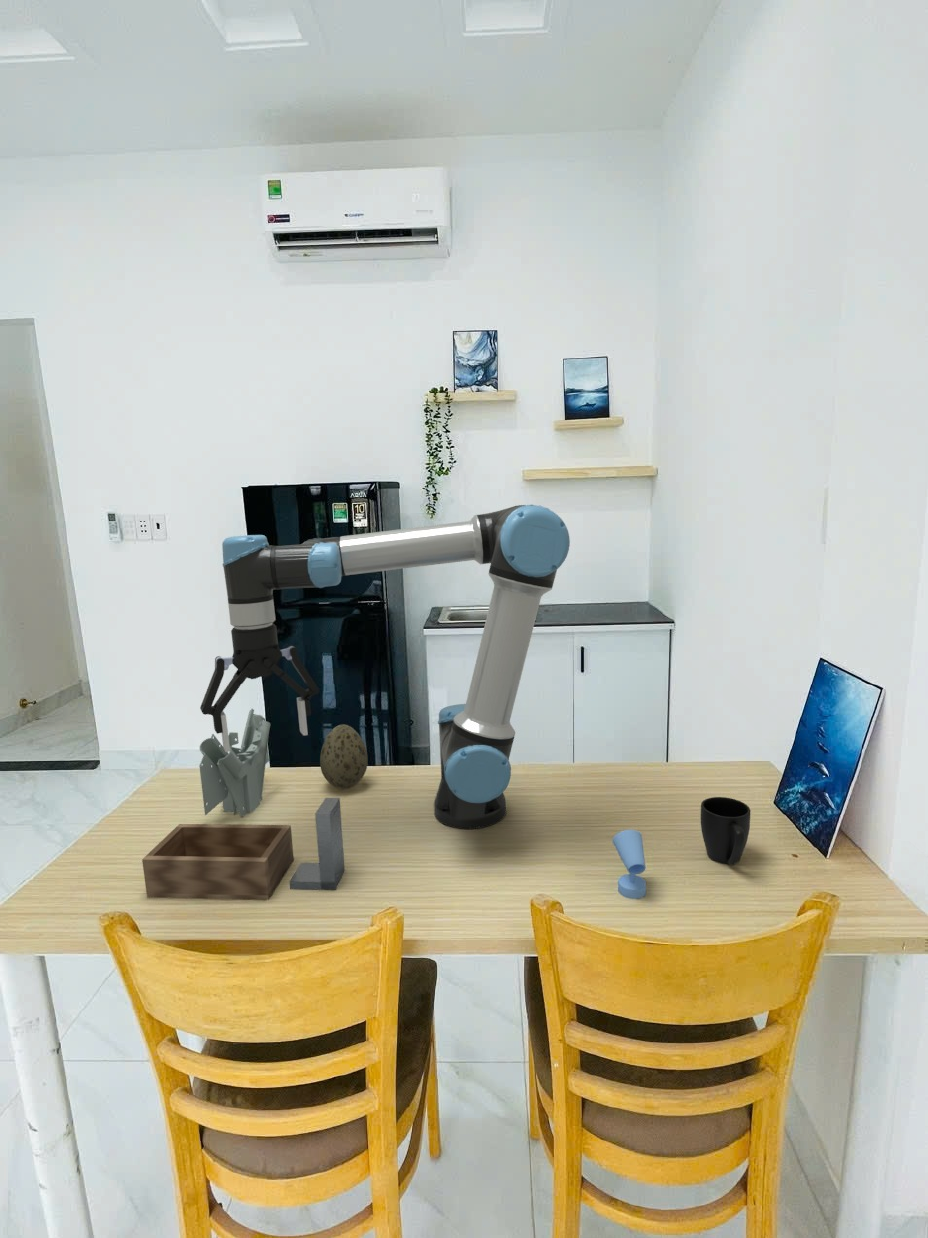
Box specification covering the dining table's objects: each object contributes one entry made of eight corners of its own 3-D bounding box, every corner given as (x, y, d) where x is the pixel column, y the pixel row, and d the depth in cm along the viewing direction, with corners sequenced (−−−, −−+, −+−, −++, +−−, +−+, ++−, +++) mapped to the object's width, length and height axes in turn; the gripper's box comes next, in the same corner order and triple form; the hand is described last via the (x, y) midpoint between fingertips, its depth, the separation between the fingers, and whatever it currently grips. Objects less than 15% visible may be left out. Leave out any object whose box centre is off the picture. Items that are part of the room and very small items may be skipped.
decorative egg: (370, 793, 150) (366, 730, 148) (322, 799, 148) (317, 735, 145) (367, 774, 161) (363, 715, 158) (322, 780, 158) (317, 719, 156)
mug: (711, 880, 112) (713, 828, 111) (694, 843, 124) (695, 796, 122) (762, 881, 111) (765, 829, 110) (740, 844, 123) (742, 796, 121)
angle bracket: (344, 870, 119) (339, 797, 117) (335, 890, 113) (329, 813, 111) (301, 869, 120) (295, 797, 117) (290, 889, 114) (283, 813, 112)
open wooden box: (293, 859, 123) (290, 825, 122) (268, 899, 111) (264, 861, 110) (183, 858, 125) (179, 823, 124) (147, 897, 113) (142, 859, 112)
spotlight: (610, 878, 114) (622, 902, 107) (611, 824, 112) (622, 845, 105) (639, 876, 114) (652, 900, 107) (639, 822, 112) (653, 843, 106)
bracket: (225, 840, 132) (215, 744, 128) (192, 838, 133) (181, 743, 129) (285, 781, 158) (278, 701, 155) (257, 780, 159) (250, 700, 156)
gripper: (318, 613, 124) (328, 721, 128) (174, 631, 113) (189, 749, 117) (329, 618, 118) (339, 732, 122) (178, 638, 106) (194, 763, 110)
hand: (266, 741), depth 119 cm, fingers open, 13 cm apart
